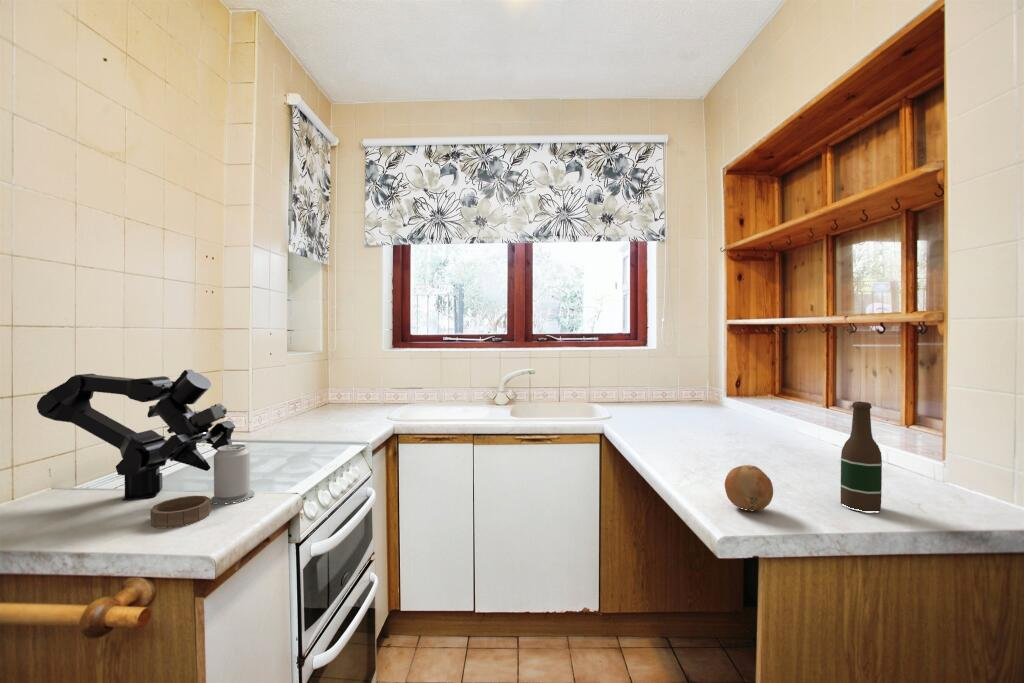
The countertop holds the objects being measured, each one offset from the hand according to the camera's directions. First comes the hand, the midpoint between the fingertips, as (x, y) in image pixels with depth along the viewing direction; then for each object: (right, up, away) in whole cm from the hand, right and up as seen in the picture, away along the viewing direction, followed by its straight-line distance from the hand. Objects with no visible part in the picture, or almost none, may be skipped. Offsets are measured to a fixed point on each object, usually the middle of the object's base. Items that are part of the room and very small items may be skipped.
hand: (222, 463), depth 112 cm
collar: (-1, -8, -12) cm, 15 cm away
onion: (+123, -8, -8) cm, 124 cm away
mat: (+3, -8, 0) cm, 9 cm away
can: (+2, -8, 0) cm, 8 cm away
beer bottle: (+149, -8, -7) cm, 150 cm away
